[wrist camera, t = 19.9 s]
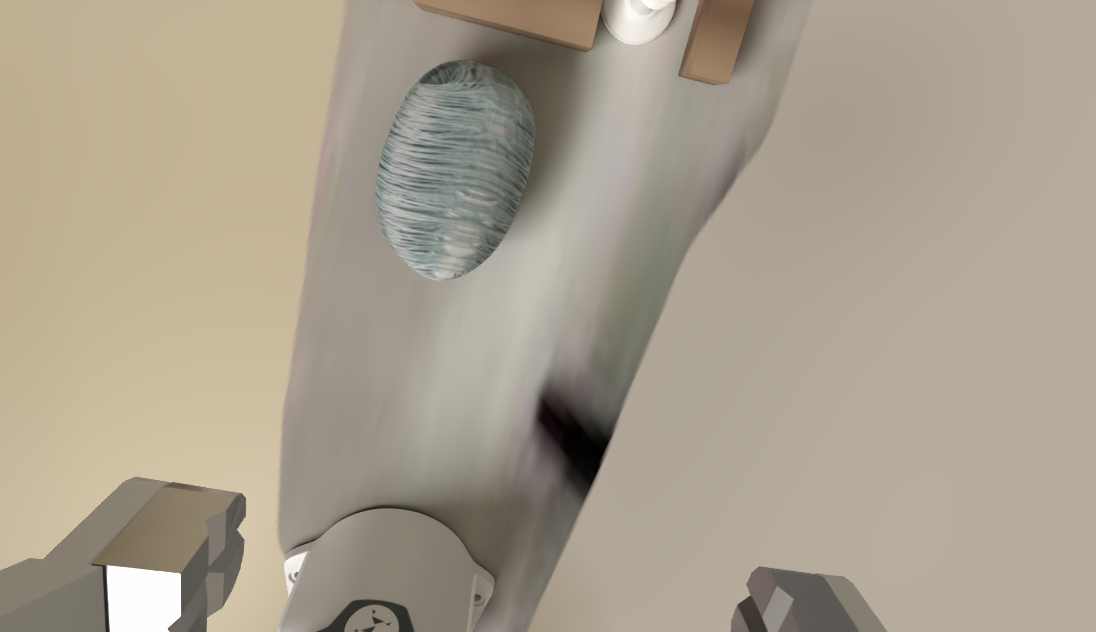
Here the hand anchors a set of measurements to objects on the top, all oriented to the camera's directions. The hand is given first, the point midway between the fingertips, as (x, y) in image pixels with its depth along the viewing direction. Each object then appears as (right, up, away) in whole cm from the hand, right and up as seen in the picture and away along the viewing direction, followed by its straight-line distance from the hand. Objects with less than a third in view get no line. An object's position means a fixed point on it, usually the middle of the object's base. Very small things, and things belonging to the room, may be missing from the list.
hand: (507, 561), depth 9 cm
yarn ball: (-5, +14, +31) cm, 35 cm away
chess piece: (+6, +24, +28) cm, 38 cm away
